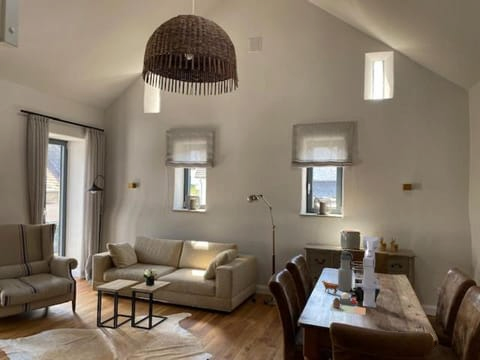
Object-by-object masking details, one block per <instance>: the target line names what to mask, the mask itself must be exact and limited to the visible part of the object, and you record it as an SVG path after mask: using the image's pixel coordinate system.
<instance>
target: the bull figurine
mask: <svg viewBox="0 0 480 360" xmlns="http://www.w3.org/2000/svg"><path fill="white" fill-rule="evenodd" d="M321 284H323V285H324V286H323V287H324V293H326V292H327V293H330V291H333V292H332V293H333V295H336V294H337V293H338V291H339V289H338V288H339V287H338V283H332V282H329V281H328V280H326V279H323V280H322V281H321ZM329 290H330V291H329Z"/></svg>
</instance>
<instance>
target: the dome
mask: <svg viewBox="0 0 480 360" xmlns="http://www.w3.org/2000/svg"><path fill="white" fill-rule="evenodd" d="M349 295H350V294H349V293H348V292H343V293H342V294H341V295H340V296H341V299H348V300H349V297H350V296H349Z"/></svg>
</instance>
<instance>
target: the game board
mask: <svg viewBox="0 0 480 360" xmlns="http://www.w3.org/2000/svg"><path fill="white" fill-rule="evenodd" d="M329 311H332V312H341V313H346V314H354V315H361V316H366V313H367V312H366V311H367V310H366V307H360V306H359V307H358V306H353V305H345V304H340V308H339V309H336V308H333V303H332V304H331V307H330V309H329Z"/></svg>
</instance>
